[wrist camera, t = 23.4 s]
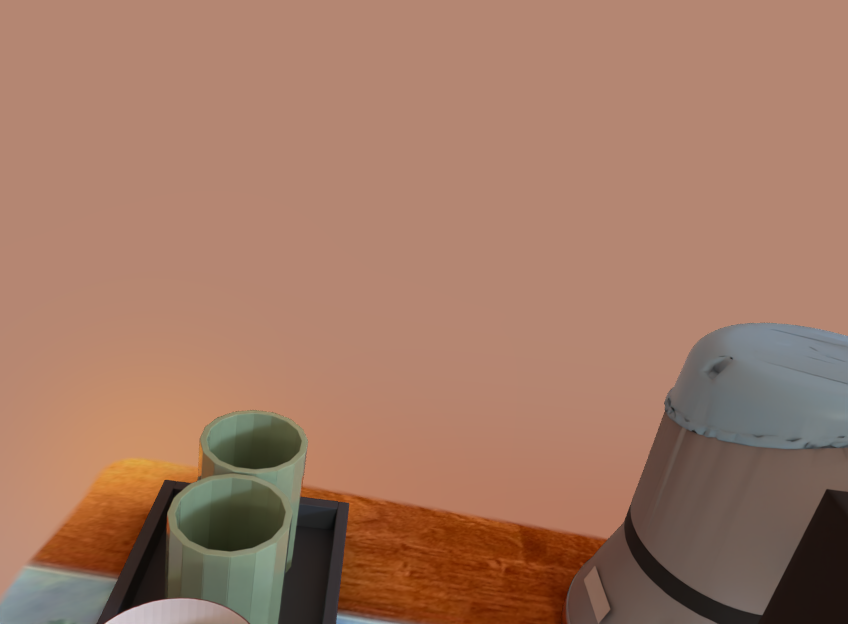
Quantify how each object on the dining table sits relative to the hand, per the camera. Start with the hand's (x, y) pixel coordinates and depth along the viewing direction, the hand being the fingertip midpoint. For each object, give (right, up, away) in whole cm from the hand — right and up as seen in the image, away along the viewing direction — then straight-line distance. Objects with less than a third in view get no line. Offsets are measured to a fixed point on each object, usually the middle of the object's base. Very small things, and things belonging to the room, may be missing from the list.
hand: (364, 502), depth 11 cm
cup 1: (-11, -14, +39) cm, 43 cm away
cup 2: (-11, -17, +33) cm, 39 cm away
